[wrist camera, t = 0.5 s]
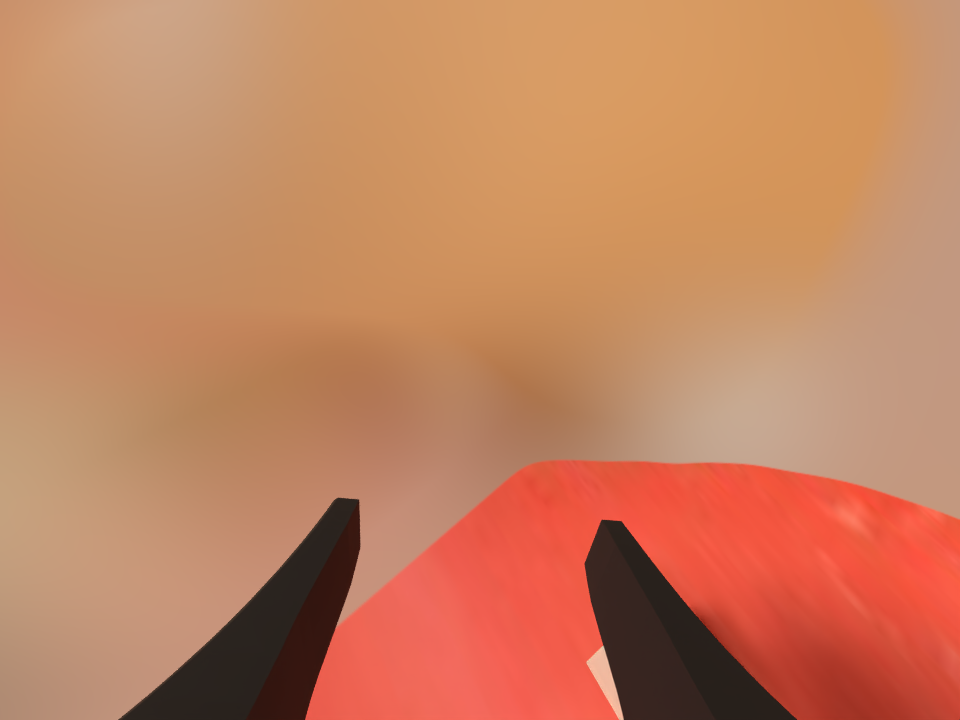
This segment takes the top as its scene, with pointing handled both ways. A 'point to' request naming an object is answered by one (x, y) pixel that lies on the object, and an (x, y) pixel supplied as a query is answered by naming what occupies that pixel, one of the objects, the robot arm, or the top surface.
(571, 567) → the top surface
